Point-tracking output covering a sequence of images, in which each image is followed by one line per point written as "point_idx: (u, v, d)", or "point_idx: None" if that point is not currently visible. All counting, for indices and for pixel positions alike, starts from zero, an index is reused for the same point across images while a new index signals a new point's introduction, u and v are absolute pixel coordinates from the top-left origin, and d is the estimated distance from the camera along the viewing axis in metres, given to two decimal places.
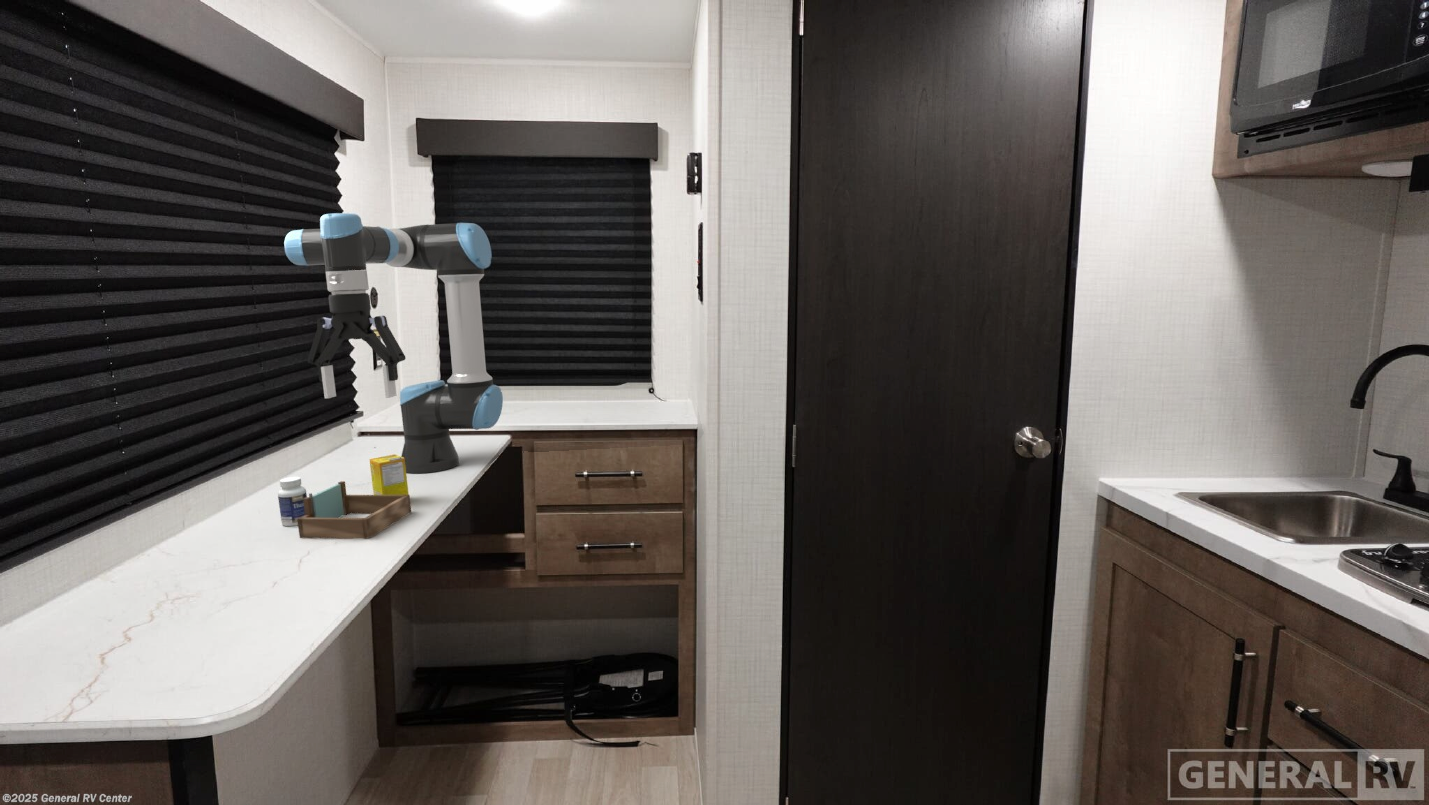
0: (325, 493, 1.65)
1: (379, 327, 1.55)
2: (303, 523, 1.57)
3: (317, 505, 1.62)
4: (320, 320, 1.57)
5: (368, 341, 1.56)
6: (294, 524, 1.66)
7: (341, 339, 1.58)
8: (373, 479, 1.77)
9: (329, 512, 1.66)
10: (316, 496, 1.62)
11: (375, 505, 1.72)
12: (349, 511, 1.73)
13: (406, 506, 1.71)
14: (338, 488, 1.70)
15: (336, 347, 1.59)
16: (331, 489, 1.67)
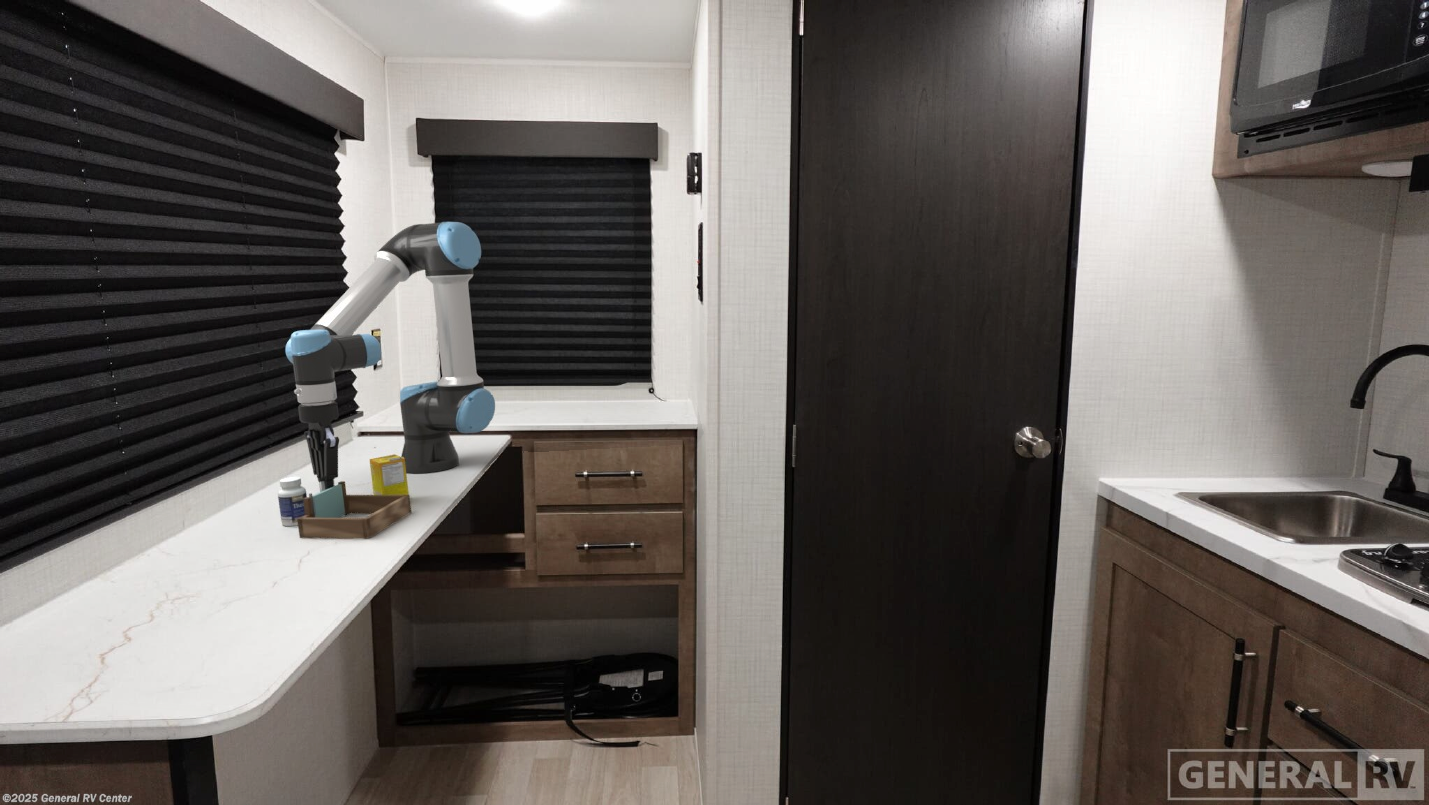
0: (326, 493, 1.65)
1: (325, 447, 1.64)
2: (303, 523, 1.57)
3: (317, 505, 1.62)
4: (305, 433, 1.71)
5: (319, 452, 1.67)
6: (294, 524, 1.66)
7: None
8: (374, 478, 1.77)
9: (329, 512, 1.66)
10: (316, 496, 1.62)
11: (375, 505, 1.72)
12: (349, 511, 1.73)
13: (406, 506, 1.71)
14: (340, 488, 1.70)
15: None
16: (332, 489, 1.67)
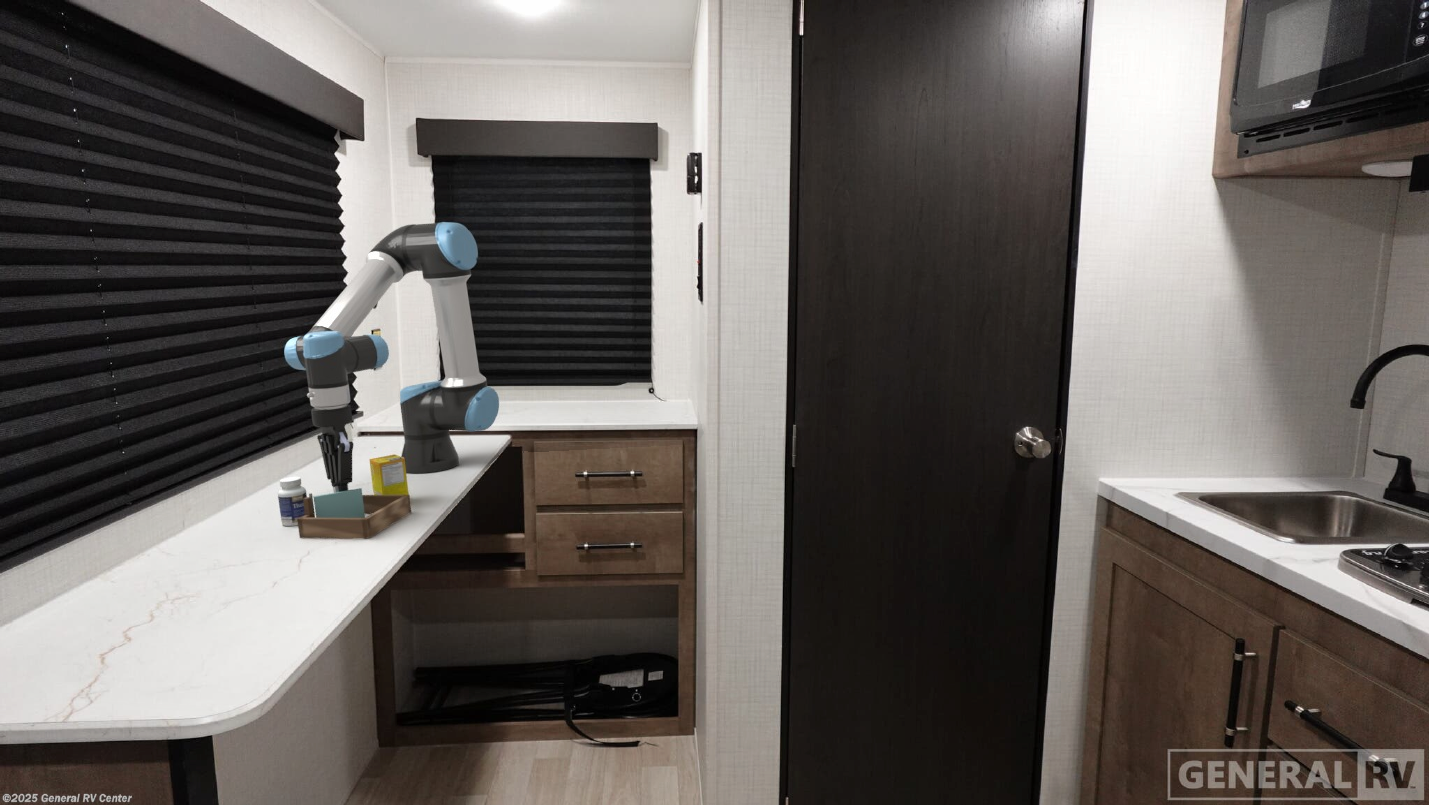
0: (334, 495, 1.63)
1: (339, 452, 1.61)
2: (303, 523, 1.57)
3: (319, 506, 1.62)
4: (318, 437, 1.67)
5: (332, 457, 1.64)
6: (294, 524, 1.66)
7: None
8: (373, 479, 1.77)
9: (339, 515, 1.64)
10: (318, 497, 1.61)
11: (375, 505, 1.72)
12: None
13: (406, 506, 1.71)
14: (358, 493, 1.66)
15: None
16: (345, 493, 1.64)
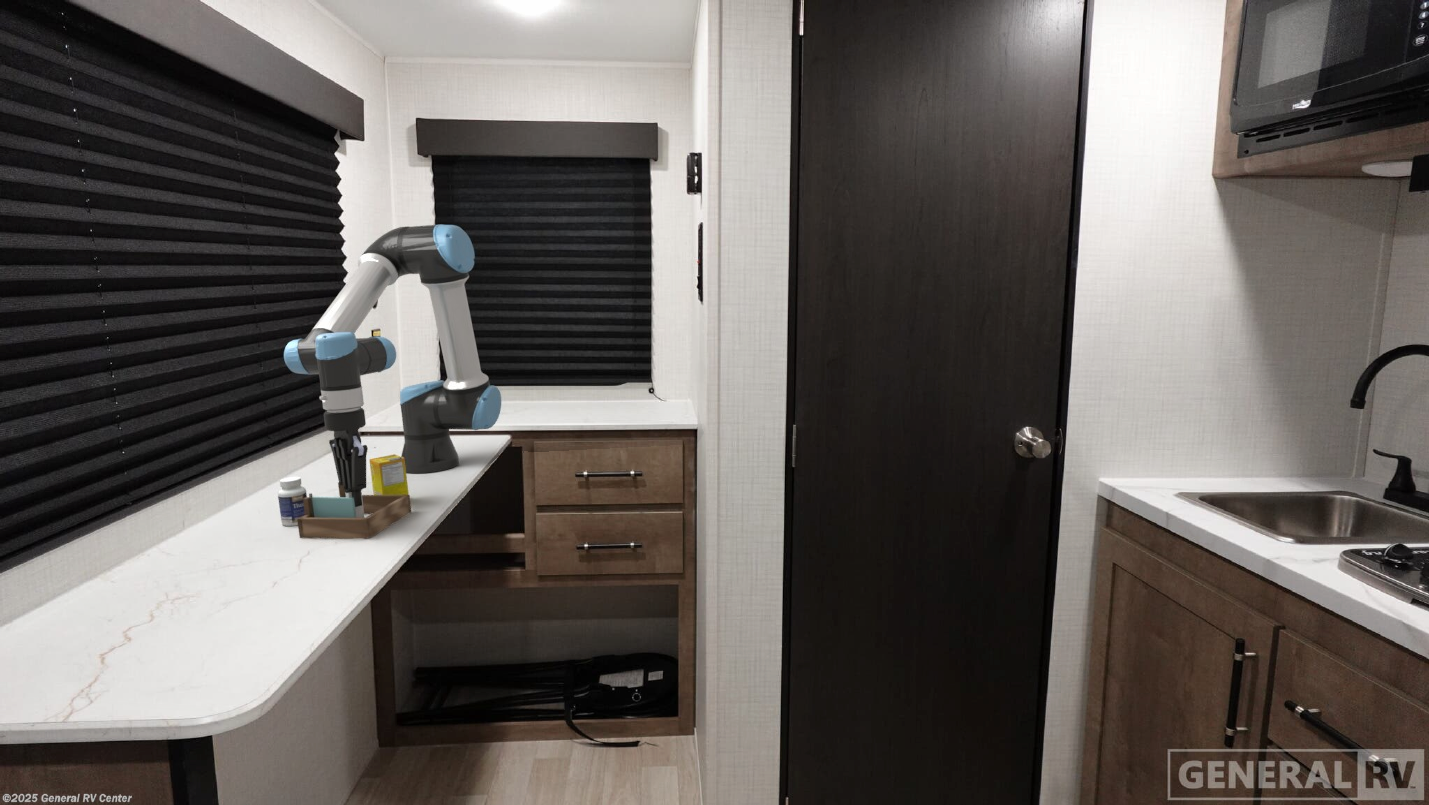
0: (328, 500, 1.60)
1: (353, 456, 1.55)
2: (303, 523, 1.57)
3: (316, 507, 1.61)
4: (330, 442, 1.62)
5: (346, 462, 1.58)
6: (294, 524, 1.66)
7: None
8: (373, 479, 1.77)
9: None
10: (315, 498, 1.60)
11: (375, 505, 1.72)
12: None
13: (406, 506, 1.71)
14: (349, 502, 1.59)
15: None
16: (337, 499, 1.59)
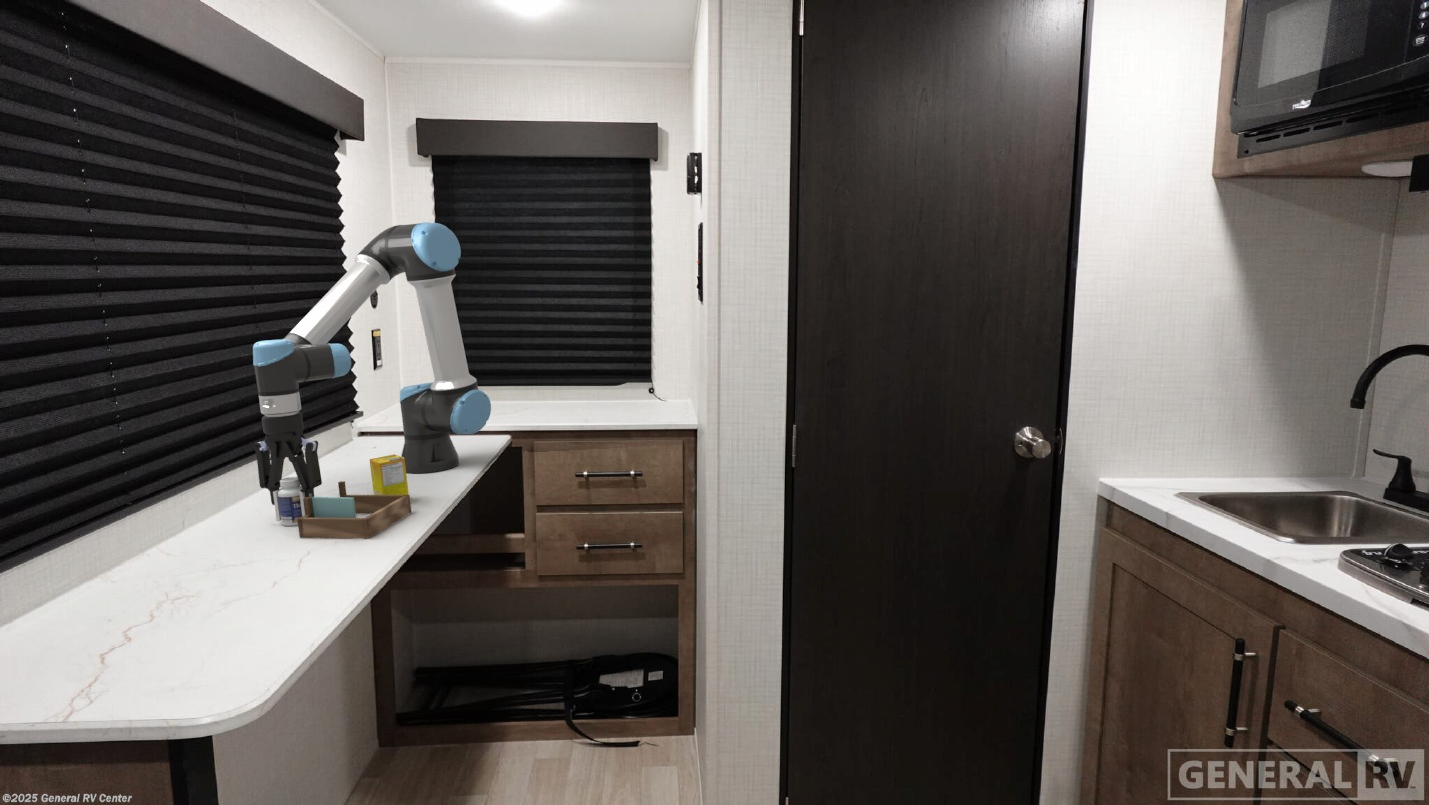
0: (328, 500, 1.60)
1: (308, 453, 1.64)
2: (303, 523, 1.57)
3: (316, 507, 1.61)
4: (255, 445, 1.65)
5: (294, 463, 1.65)
6: (294, 524, 1.66)
7: (281, 458, 1.66)
8: (373, 479, 1.77)
9: None
10: (315, 498, 1.60)
11: (375, 505, 1.72)
12: None
13: (406, 506, 1.71)
14: (349, 502, 1.59)
15: (280, 467, 1.67)
16: (337, 499, 1.59)
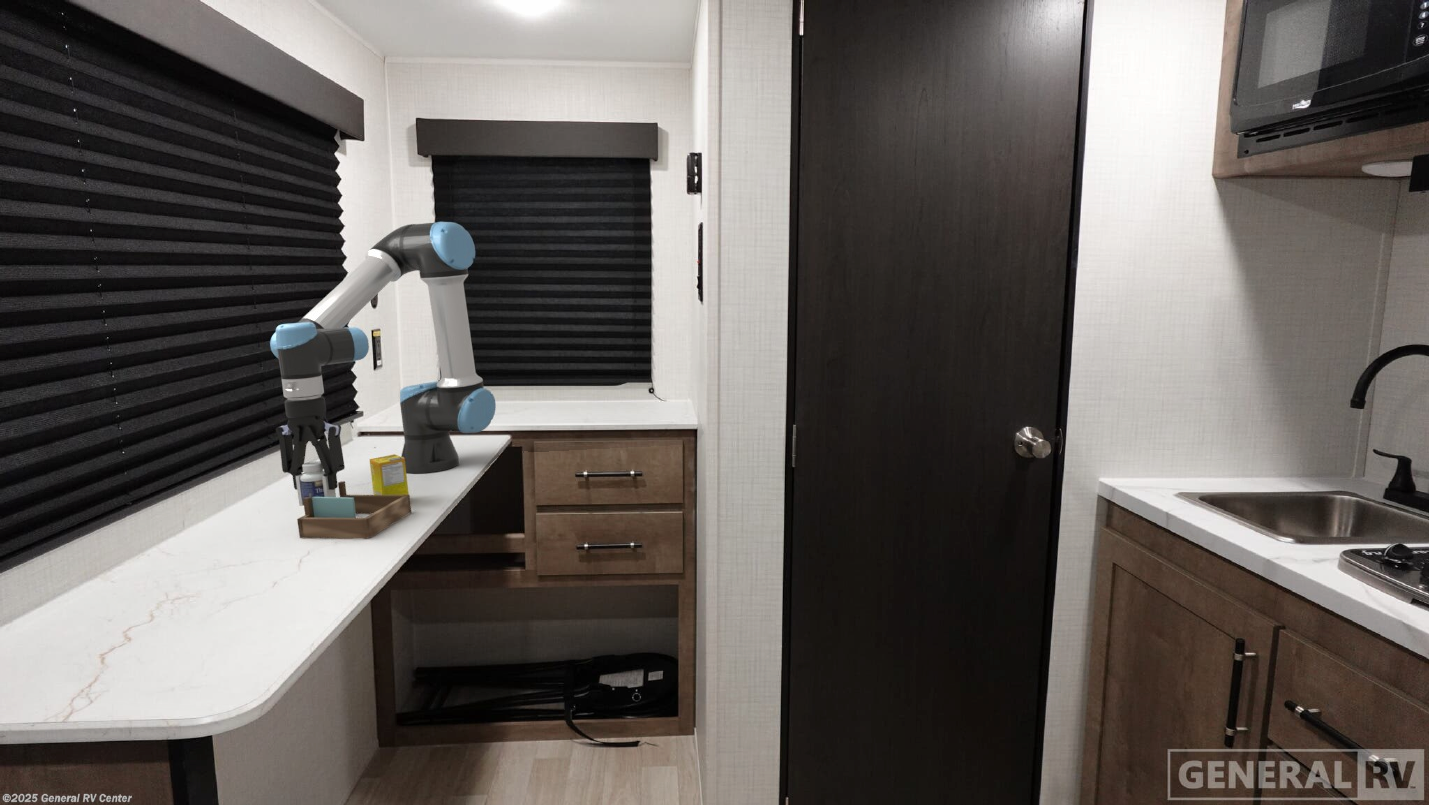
0: (328, 500, 1.60)
1: (331, 437, 1.62)
2: (303, 523, 1.57)
3: (316, 507, 1.61)
4: (278, 429, 1.64)
5: (316, 447, 1.63)
6: None
7: (304, 442, 1.65)
8: (374, 478, 1.77)
9: None
10: (315, 498, 1.60)
11: (375, 505, 1.72)
12: None
13: (406, 506, 1.71)
14: (349, 502, 1.59)
15: (302, 452, 1.66)
16: (337, 499, 1.59)
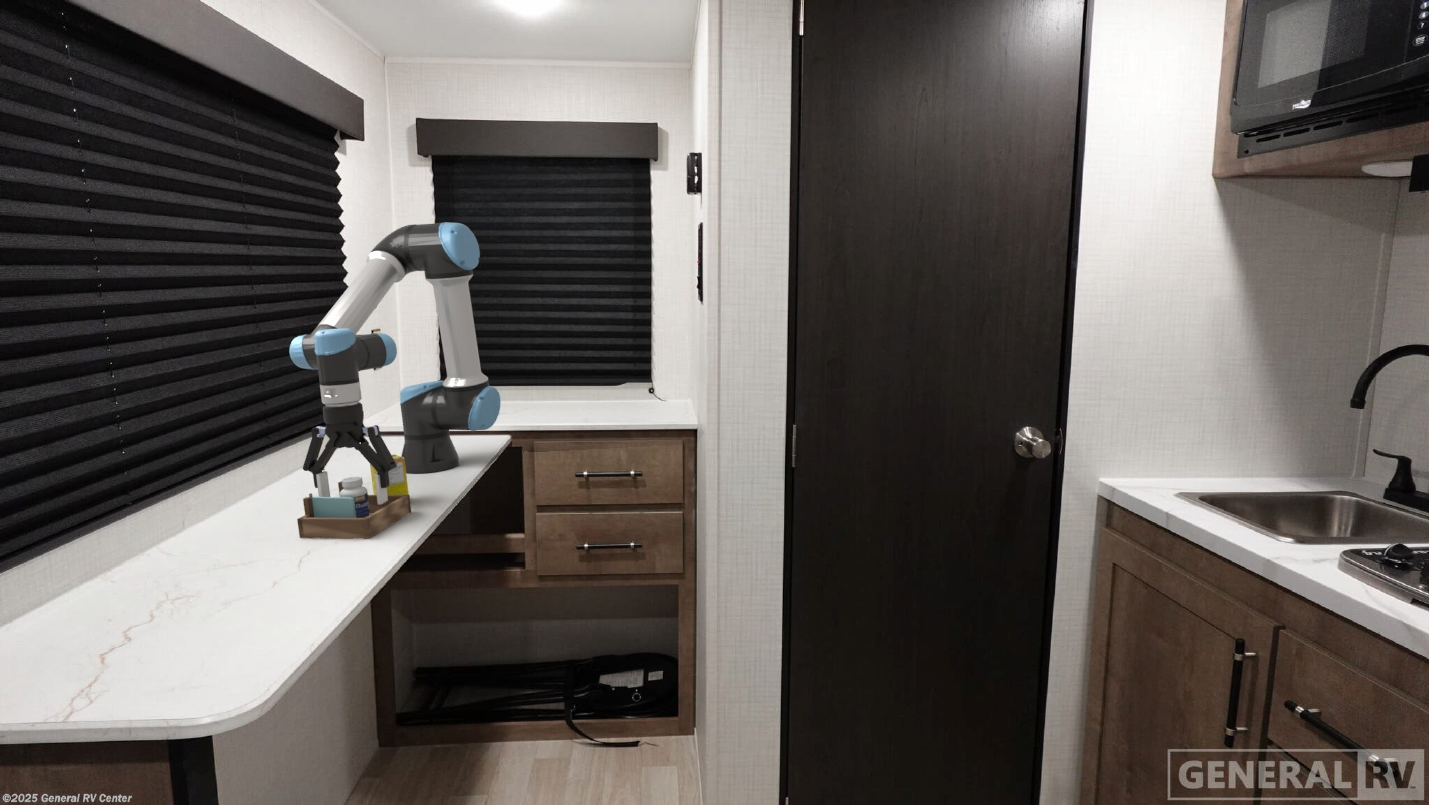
0: (328, 500, 1.60)
1: (372, 437, 1.61)
2: (303, 523, 1.57)
3: (316, 507, 1.61)
4: (314, 430, 1.63)
5: (361, 450, 1.62)
6: None
7: (335, 447, 1.64)
8: (373, 479, 1.77)
9: None
10: (315, 498, 1.60)
11: (375, 505, 1.72)
12: None
13: (406, 506, 1.71)
14: (349, 502, 1.59)
15: (330, 455, 1.65)
16: (337, 499, 1.59)
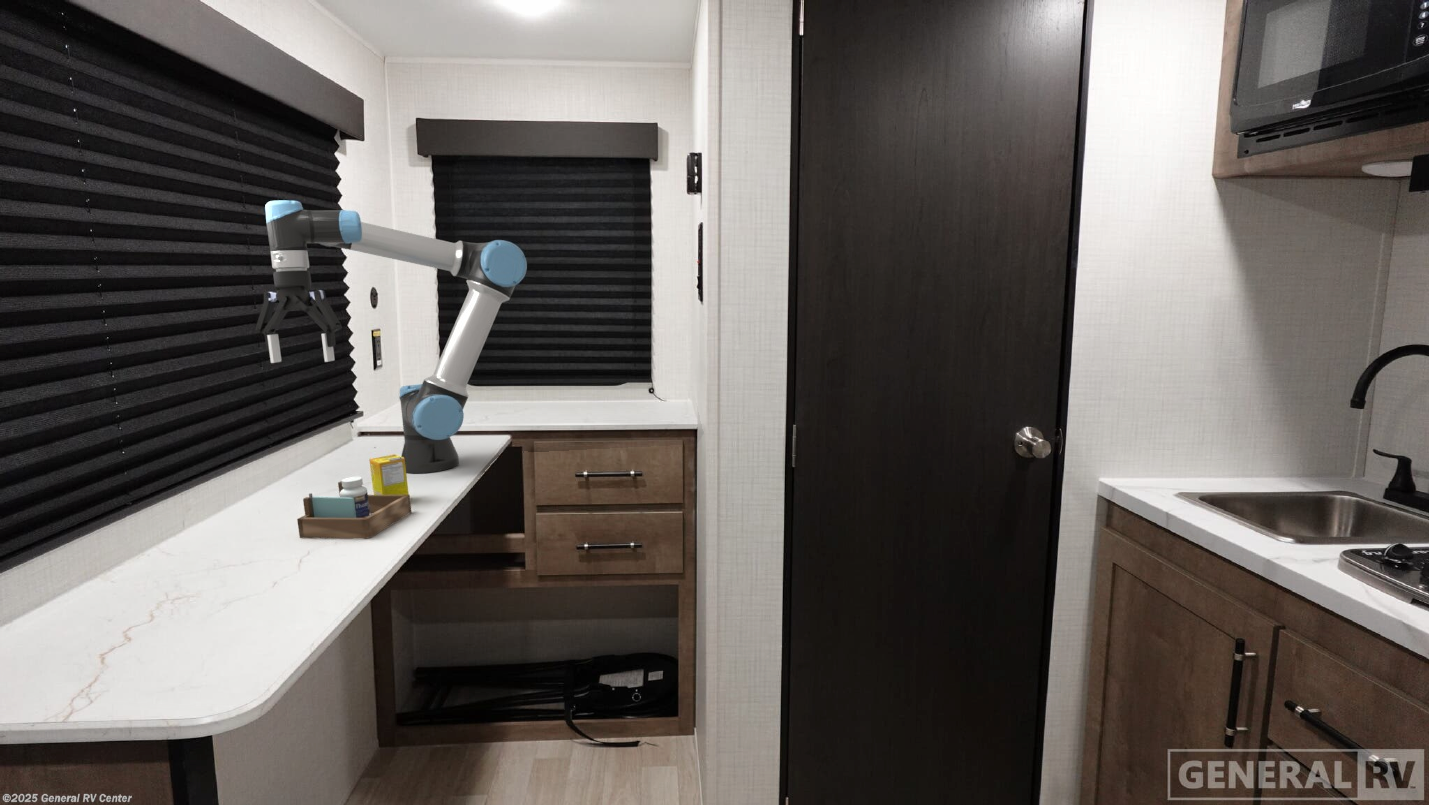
0: (328, 500, 1.60)
1: (318, 300, 1.78)
2: (303, 523, 1.57)
3: (316, 507, 1.61)
4: (266, 294, 1.80)
5: (308, 312, 1.79)
6: None
7: (285, 311, 1.81)
8: (373, 479, 1.77)
9: None
10: (315, 498, 1.60)
11: (375, 505, 1.72)
12: None
13: (406, 506, 1.71)
14: (349, 502, 1.59)
15: (280, 318, 1.82)
16: (337, 499, 1.59)
